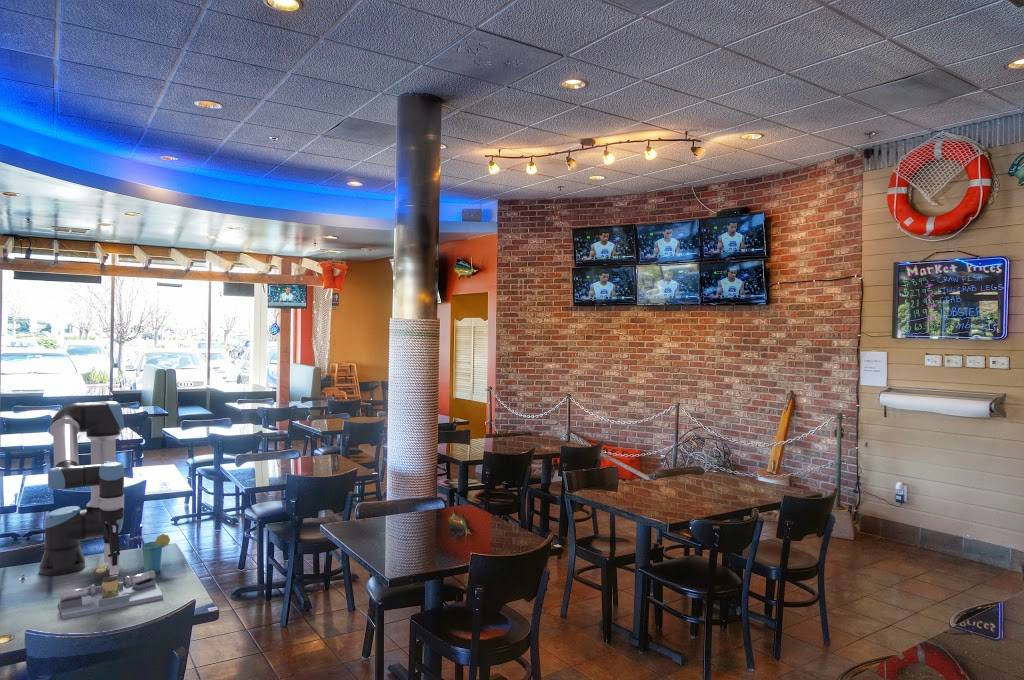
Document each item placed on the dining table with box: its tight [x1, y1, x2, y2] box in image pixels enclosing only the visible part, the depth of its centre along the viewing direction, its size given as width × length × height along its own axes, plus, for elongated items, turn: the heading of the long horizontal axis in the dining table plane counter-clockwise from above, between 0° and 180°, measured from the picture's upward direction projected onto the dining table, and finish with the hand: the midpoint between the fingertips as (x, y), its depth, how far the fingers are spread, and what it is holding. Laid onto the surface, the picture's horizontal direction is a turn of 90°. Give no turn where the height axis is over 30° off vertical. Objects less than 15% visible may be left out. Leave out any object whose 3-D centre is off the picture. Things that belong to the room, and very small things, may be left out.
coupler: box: [101, 574, 120, 599], centre depth 243 cm, size 5×5×7 cm
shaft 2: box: [122, 570, 157, 591], centre depth 252 cm, size 5×10×6 cm, turn 147°
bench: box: [57, 581, 164, 620], centre depth 243 cm, size 15×30×4 cm, turn 127°
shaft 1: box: [59, 583, 96, 602], centre depth 237 cm, size 4×10×4 cm, turn 127°
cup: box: [129, 533, 171, 573], centre depth 271 cm, size 14×8×15 cm, turn 129°
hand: (111, 567), depth 244 cm, fingers open, 13 cm apart
